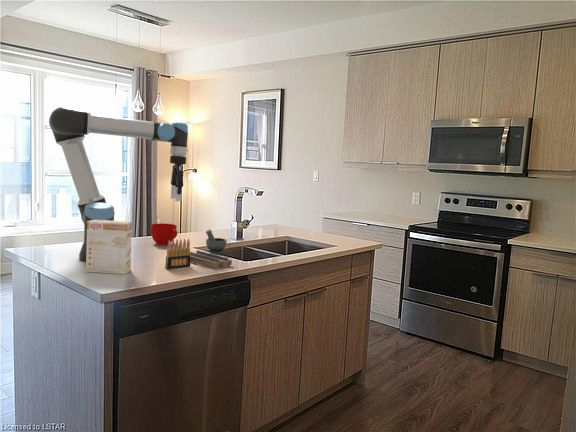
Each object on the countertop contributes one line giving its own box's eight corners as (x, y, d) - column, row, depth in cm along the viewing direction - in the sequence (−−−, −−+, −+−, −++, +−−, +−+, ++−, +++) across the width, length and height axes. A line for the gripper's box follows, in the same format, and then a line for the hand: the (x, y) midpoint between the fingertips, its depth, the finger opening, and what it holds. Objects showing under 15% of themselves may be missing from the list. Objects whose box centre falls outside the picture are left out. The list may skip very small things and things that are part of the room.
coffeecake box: (131, 270, 182) (132, 221, 180) (125, 274, 175) (127, 223, 173) (92, 268, 182) (93, 218, 179) (85, 272, 174) (86, 220, 172)
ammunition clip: (167, 269, 187) (168, 240, 186) (165, 268, 189) (166, 239, 187) (190, 267, 195) (191, 238, 193) (188, 266, 196) (189, 238, 195)
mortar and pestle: (217, 250, 233) (218, 227, 232) (229, 254, 227) (231, 230, 226) (199, 253, 225) (200, 228, 224) (211, 256, 219) (212, 231, 217)
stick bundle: (214, 268, 194) (214, 260, 194) (183, 260, 206) (184, 252, 206) (231, 265, 202) (232, 257, 201) (201, 257, 214) (201, 249, 214)
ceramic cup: (165, 248, 230) (166, 228, 229) (144, 243, 240) (145, 224, 239) (186, 246, 241) (186, 227, 239) (165, 241, 251) (166, 222, 250)
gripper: (191, 156, 212) (188, 202, 214) (181, 156, 234) (179, 198, 237) (174, 155, 209) (172, 202, 211) (166, 154, 231) (164, 197, 234)
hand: (175, 200), depth 224 cm, fingers open, 13 cm apart
